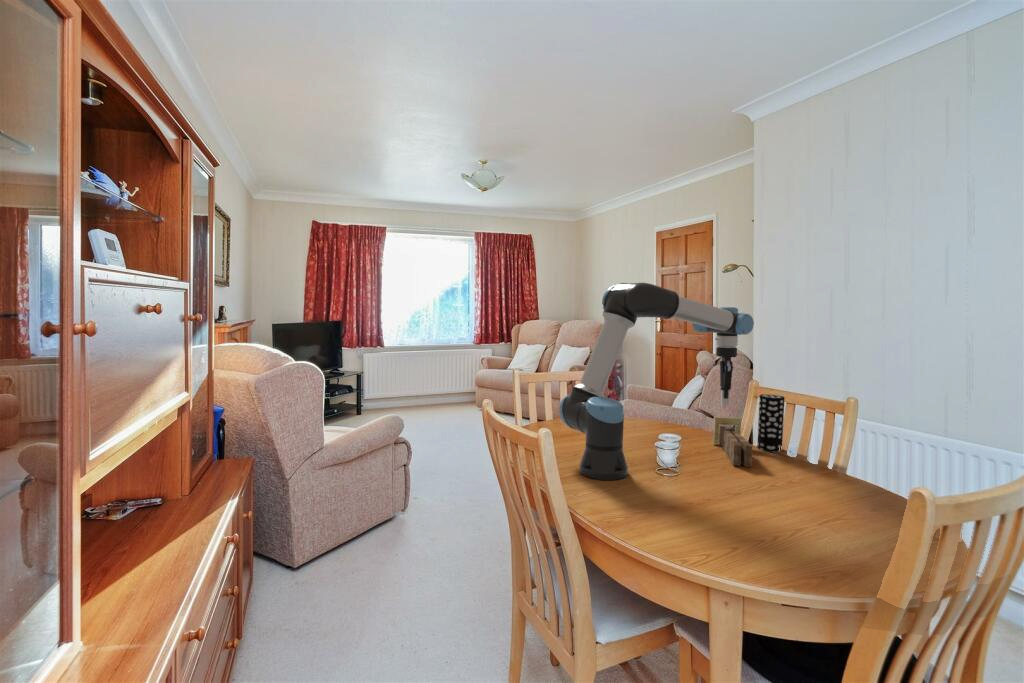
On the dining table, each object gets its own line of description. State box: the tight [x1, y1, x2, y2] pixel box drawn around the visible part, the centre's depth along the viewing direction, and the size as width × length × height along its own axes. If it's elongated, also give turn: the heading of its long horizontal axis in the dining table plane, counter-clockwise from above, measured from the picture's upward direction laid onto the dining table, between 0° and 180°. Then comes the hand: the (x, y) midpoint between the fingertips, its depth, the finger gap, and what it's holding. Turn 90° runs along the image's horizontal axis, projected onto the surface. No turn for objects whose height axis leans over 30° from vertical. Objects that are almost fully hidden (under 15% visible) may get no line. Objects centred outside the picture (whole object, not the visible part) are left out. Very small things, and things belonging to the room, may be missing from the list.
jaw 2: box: [731, 431, 753, 468], centre depth 180 cm, size 20×2×7 cm, turn 170°
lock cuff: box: [712, 415, 742, 446], centre depth 197 cm, size 3×9×11 cm, turn 78°
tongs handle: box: [718, 424, 735, 449], centre depth 195 cm, size 11×4×8 cm, turn 168°
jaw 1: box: [723, 431, 741, 467], centre depth 180 cm, size 20×2×7 cm, turn 166°
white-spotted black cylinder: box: [756, 393, 786, 453], centre depth 192 cm, size 8×8×20 cm
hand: (724, 406), depth 202 cm, fingers closed
